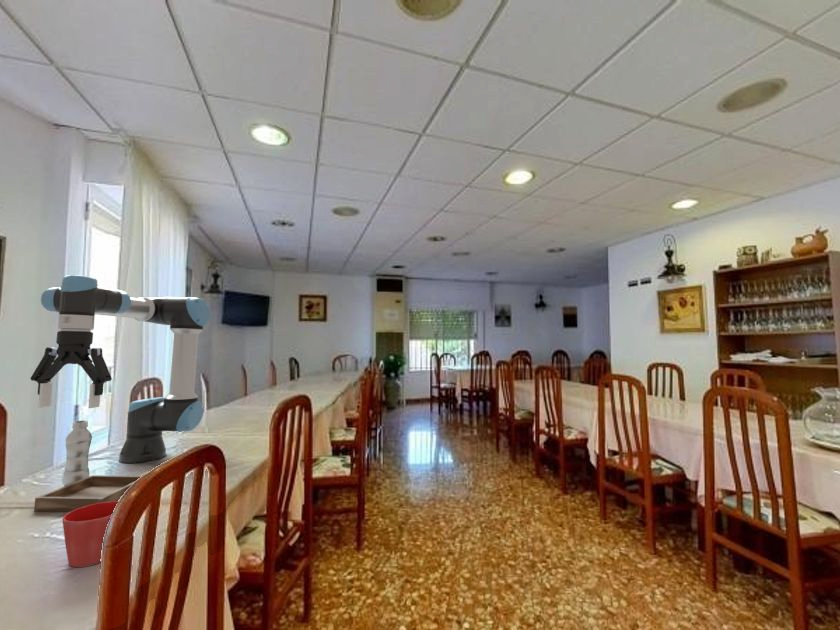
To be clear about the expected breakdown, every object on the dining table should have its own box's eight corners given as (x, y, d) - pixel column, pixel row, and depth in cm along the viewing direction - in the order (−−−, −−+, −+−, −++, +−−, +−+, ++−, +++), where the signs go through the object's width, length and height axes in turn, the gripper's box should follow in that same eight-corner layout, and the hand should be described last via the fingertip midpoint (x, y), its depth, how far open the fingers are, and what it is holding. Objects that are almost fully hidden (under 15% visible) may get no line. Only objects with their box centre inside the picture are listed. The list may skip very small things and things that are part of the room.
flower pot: (85, 545, 86) (89, 500, 87) (136, 543, 87) (139, 500, 88) (43, 572, 75) (47, 522, 76) (101, 571, 76) (105, 521, 77)
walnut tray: (91, 486, 120) (92, 475, 120) (148, 487, 120) (148, 476, 120) (33, 511, 102) (35, 498, 102) (100, 512, 102) (101, 499, 102)
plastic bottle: (72, 489, 117) (78, 424, 119) (55, 487, 119) (61, 422, 120) (94, 482, 123) (99, 420, 125) (77, 480, 125) (82, 419, 126)
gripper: (17, 329, 103) (9, 408, 101) (109, 330, 103) (103, 410, 101) (44, 330, 110) (37, 404, 108) (130, 331, 110) (124, 405, 109)
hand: (69, 407), depth 105 cm, fingers open, 13 cm apart
